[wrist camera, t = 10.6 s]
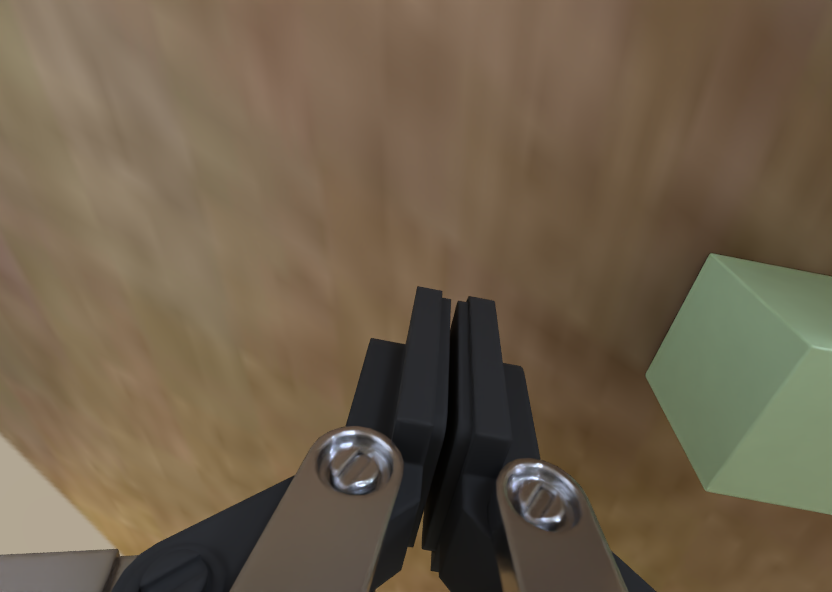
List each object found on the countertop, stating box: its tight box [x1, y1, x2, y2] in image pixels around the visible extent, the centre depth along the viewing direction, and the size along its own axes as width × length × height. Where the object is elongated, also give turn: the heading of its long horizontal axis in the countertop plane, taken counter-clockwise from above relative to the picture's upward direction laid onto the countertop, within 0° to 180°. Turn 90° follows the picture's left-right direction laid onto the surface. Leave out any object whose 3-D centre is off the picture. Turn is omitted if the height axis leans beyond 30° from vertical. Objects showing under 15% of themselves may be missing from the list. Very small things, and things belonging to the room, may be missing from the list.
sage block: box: [645, 253, 832, 515], centre depth 12 cm, size 4×4×4 cm
